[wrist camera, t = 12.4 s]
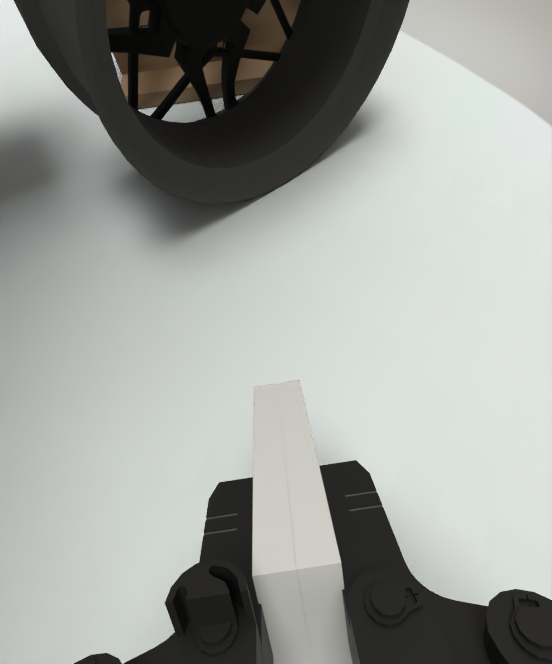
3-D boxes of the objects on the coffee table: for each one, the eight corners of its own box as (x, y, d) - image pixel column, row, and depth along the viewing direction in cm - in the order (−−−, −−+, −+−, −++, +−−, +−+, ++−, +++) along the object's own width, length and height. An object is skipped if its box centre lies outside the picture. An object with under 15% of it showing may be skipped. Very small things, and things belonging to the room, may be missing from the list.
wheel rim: (313, 69, 34) (328, -423, 16) (384, 124, 31) (504, -415, 13) (112, 177, 31) (-169, -311, 12) (168, 253, 27) (-101, -260, 9)
